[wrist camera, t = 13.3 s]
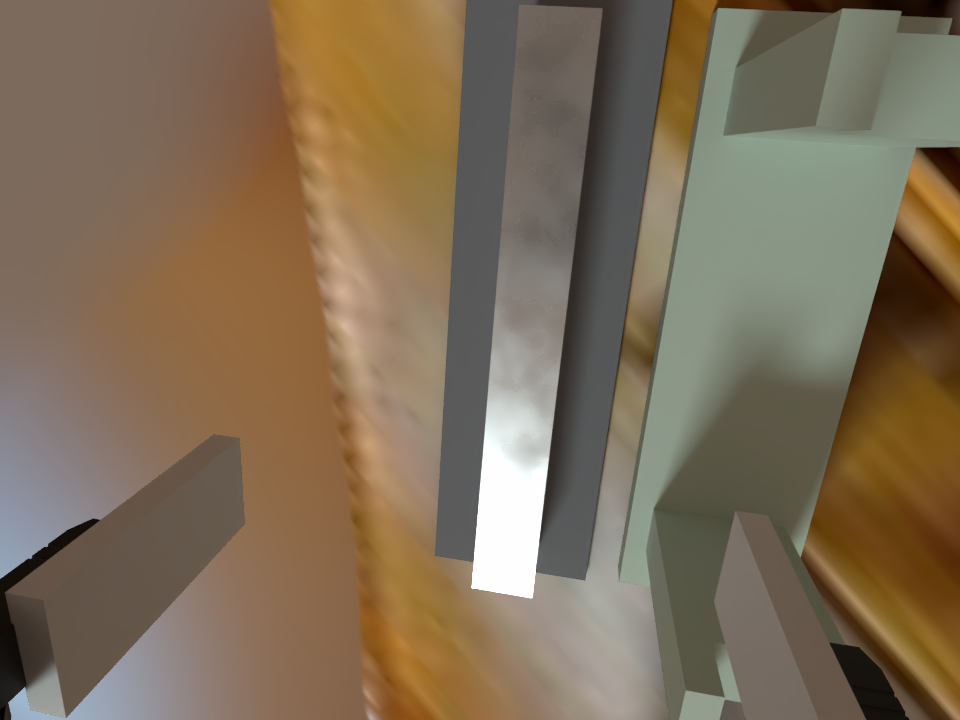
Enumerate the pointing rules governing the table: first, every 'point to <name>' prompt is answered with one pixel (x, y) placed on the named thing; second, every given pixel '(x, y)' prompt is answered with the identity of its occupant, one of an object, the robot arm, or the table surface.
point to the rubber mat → (594, 280)
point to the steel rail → (533, 284)
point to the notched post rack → (771, 298)
